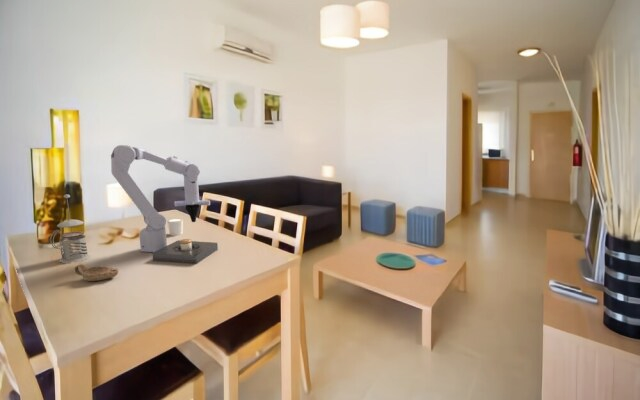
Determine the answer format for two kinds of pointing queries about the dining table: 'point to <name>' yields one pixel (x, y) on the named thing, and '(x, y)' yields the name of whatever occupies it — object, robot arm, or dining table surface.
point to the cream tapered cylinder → (175, 226)
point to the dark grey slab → (185, 252)
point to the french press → (75, 239)
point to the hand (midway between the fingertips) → (193, 221)
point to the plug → (186, 244)
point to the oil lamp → (96, 272)
